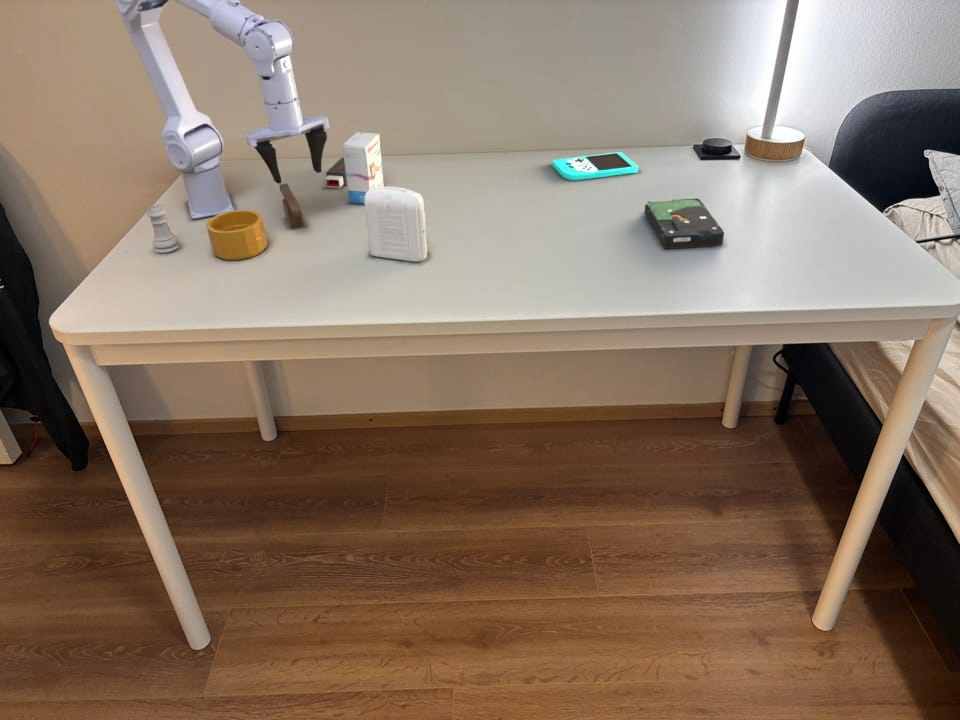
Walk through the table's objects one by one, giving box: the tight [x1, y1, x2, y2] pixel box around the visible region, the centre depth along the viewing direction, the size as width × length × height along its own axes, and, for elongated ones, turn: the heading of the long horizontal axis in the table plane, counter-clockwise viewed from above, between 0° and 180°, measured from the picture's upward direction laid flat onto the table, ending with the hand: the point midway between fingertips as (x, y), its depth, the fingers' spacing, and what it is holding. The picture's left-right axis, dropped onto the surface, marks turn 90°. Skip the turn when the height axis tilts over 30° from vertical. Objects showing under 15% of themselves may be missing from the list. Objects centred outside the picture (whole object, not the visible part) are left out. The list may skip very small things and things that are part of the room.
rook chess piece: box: [146, 204, 181, 255], centre depth 131 cm, size 4×4×8 cm
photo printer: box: [363, 186, 428, 263], centre depth 125 cm, size 10×4×12 cm, turn 72°
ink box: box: [342, 131, 385, 205], centre depth 147 cm, size 9×5×12 cm, turn 168°
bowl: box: [205, 209, 269, 261], centre depth 131 cm, size 9×9×6 cm
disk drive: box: [644, 198, 725, 249], centre depth 132 cm, size 10×3×15 cm
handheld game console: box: [551, 151, 639, 181], centre depth 158 cm, size 10×16×1 cm, turn 104°
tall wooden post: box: [278, 183, 305, 230], centre depth 140 cm, size 14×2×5 cm, turn 22°
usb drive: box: [324, 157, 347, 189], centre depth 158 cm, size 5×12×3 cm, turn 167°
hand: (298, 176), depth 134 cm, fingers open, 7 cm apart
